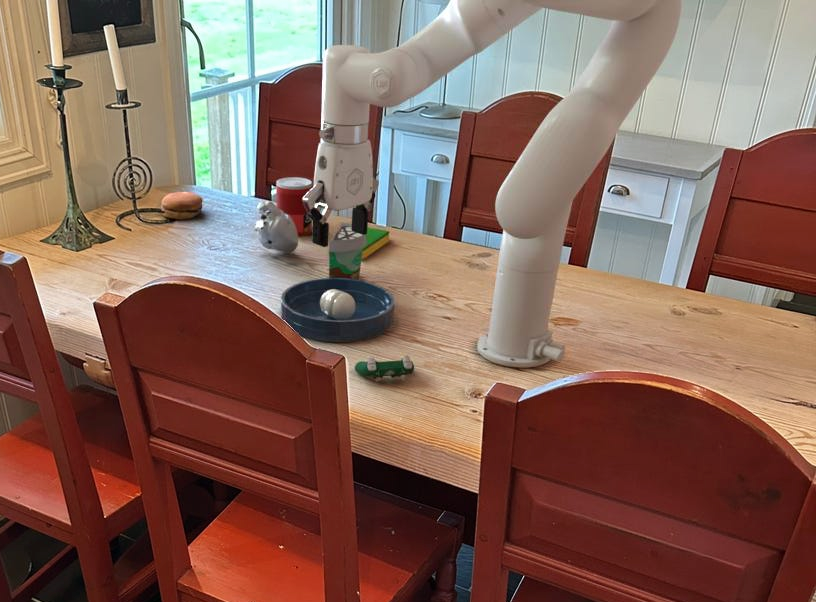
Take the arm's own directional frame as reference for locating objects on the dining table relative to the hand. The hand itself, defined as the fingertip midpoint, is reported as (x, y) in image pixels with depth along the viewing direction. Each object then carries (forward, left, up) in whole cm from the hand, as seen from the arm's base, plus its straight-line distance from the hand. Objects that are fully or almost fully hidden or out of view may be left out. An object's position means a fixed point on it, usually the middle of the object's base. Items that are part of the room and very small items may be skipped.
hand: (339, 238), depth 145 cm
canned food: (+41, -29, -15) cm, 52 cm away
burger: (+68, -18, -15) cm, 72 cm away
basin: (0, 0, -15) cm, 15 cm away
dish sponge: (+23, -32, -15) cm, 42 cm away
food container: (+11, -15, -15) cm, 24 cm away
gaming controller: (-21, +11, -15) cm, 28 cm away
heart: (+31, -15, -15) cm, 37 cm away
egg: (0, 0, -14) cm, 14 cm away
